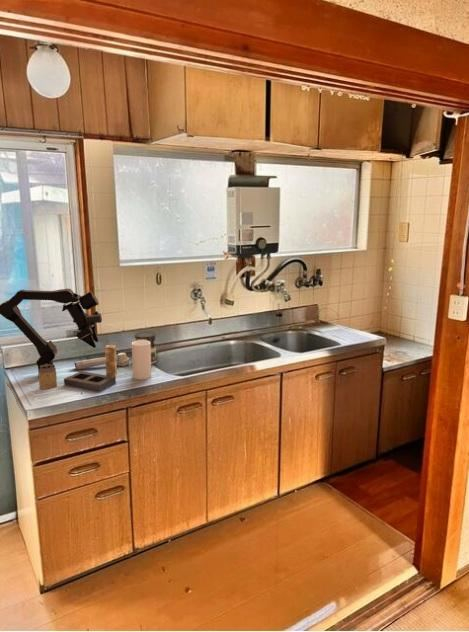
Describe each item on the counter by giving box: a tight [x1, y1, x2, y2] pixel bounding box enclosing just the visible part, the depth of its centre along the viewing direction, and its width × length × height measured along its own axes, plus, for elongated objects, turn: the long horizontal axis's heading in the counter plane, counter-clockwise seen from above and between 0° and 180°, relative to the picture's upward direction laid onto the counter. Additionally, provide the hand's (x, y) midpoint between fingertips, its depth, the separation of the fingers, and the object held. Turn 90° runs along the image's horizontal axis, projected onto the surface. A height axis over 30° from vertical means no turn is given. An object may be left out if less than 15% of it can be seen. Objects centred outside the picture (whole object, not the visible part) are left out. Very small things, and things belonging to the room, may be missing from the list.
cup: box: [131, 340, 152, 381], centre depth 209 cm, size 8×8×16 cm
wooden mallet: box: [73, 352, 130, 371], centre depth 222 cm, size 5×7×25 cm
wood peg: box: [104, 344, 118, 377], centre depth 210 cm, size 4×4×14 cm
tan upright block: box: [37, 364, 58, 390], centre depth 195 cm, size 7×4×10 cm, turn 120°
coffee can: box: [133, 331, 157, 365], centre depth 230 cm, size 10×10×14 cm
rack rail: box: [63, 370, 117, 393], centre depth 200 cm, size 18×11×3 cm, turn 68°
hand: (96, 344), depth 210 cm, fingers open, 9 cm apart
